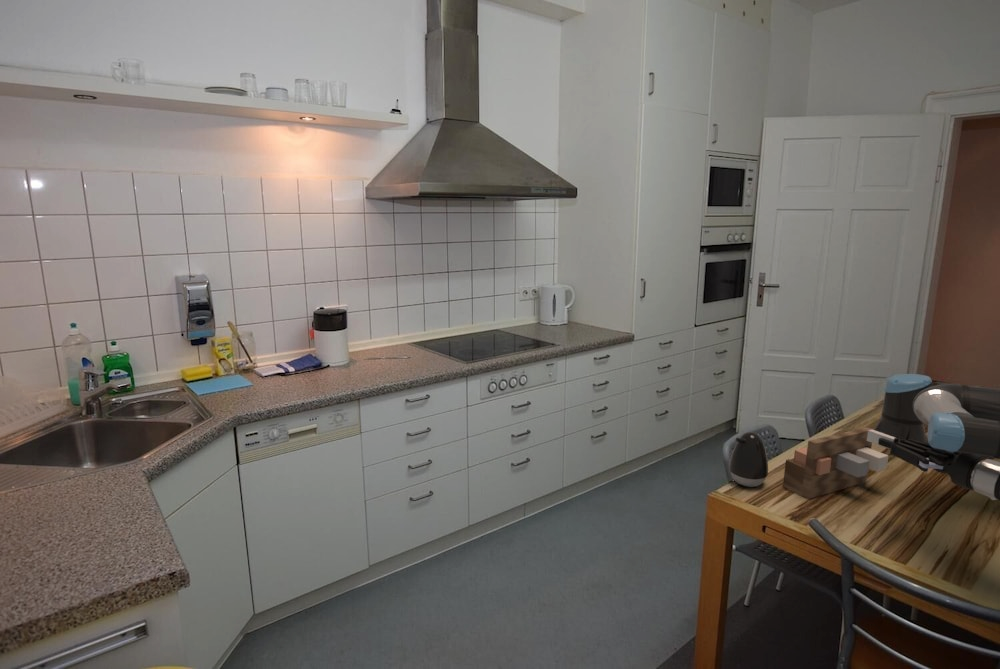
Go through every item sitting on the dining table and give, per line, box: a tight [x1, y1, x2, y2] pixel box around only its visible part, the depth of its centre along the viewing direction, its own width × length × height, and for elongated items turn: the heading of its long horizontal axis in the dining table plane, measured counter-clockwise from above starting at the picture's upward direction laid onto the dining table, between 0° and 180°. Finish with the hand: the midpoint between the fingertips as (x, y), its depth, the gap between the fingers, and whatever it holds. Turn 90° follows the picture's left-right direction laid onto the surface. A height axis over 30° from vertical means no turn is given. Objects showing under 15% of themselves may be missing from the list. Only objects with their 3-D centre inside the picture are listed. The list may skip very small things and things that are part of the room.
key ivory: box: [856, 447, 889, 473], centre depth 157 cm, size 4×8×4 cm, turn 24°
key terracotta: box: [793, 447, 831, 475], centre depth 155 cm, size 4×8×4 cm, turn 24°
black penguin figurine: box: [728, 431, 769, 488], centre depth 160 cm, size 10×10×15 cm
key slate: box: [835, 451, 869, 478], centre depth 154 cm, size 4×8×4 cm, turn 24°
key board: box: [782, 426, 875, 500], centre depth 159 cm, size 24×8×16 cm, turn 114°
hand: (869, 435), depth 140 cm, fingers closed
